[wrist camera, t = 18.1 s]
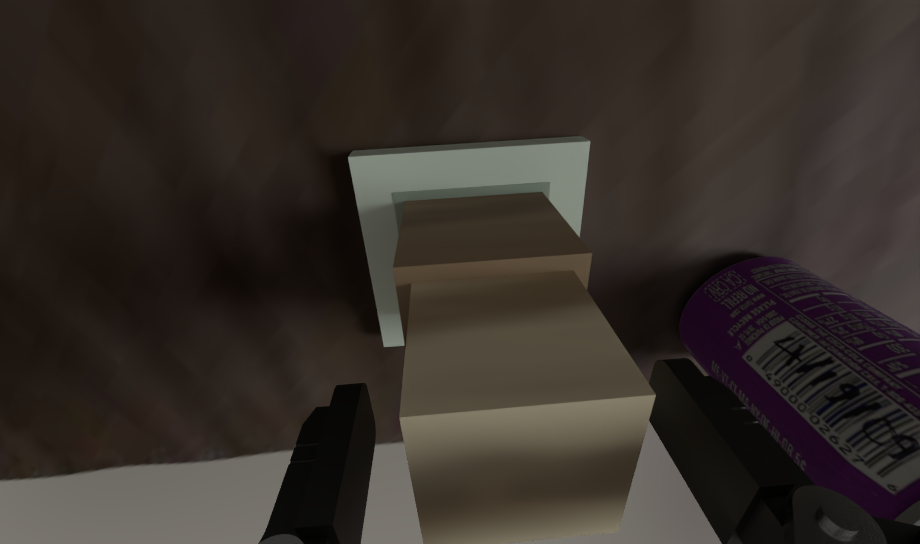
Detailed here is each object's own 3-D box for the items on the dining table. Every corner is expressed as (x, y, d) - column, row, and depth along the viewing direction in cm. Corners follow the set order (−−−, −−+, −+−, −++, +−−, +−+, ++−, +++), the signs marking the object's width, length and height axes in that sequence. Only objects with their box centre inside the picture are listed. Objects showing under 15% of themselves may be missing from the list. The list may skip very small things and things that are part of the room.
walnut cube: (404, 200, 17) (392, 267, 11) (542, 191, 17) (592, 253, 12) (419, 314, 20) (414, 408, 14) (535, 305, 20) (573, 394, 15)
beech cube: (411, 283, 12) (399, 417, 7) (573, 270, 12) (656, 395, 8) (427, 399, 14) (424, 551, 10) (561, 387, 14) (617, 532, 10)
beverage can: (670, 363, 24) (851, 596, 14) (672, 268, 21) (916, 484, 10) (785, 336, 24) (1062, 557, 13) (807, 235, 20) (1206, 425, 10)
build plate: (353, 150, 17) (347, 157, 16) (580, 136, 17) (590, 141, 16) (386, 333, 22) (384, 347, 20) (562, 319, 22) (569, 332, 21)
